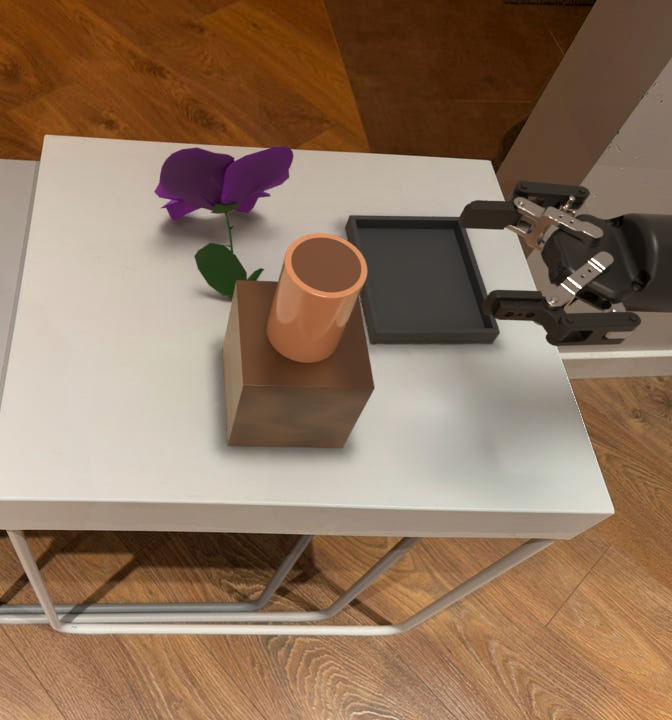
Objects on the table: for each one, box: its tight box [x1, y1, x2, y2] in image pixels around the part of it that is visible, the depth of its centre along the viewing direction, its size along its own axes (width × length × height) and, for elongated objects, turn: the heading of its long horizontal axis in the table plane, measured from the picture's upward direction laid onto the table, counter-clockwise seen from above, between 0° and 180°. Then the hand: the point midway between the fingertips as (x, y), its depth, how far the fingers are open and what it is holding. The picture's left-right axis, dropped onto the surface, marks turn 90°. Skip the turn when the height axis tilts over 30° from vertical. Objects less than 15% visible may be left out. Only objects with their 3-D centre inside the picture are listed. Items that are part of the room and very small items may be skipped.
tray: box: [344, 214, 501, 345], centre depth 84 cm, size 16×13×2 cm
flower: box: [153, 146, 294, 297], centre depth 80 cm, size 15×15×14 cm
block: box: [222, 280, 376, 449], centre depth 71 cm, size 11×11×11 cm
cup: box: [266, 232, 367, 363], centre depth 63 cm, size 6×6×9 cm
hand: (474, 257), depth 59 cm, fingers open, 8 cm apart
